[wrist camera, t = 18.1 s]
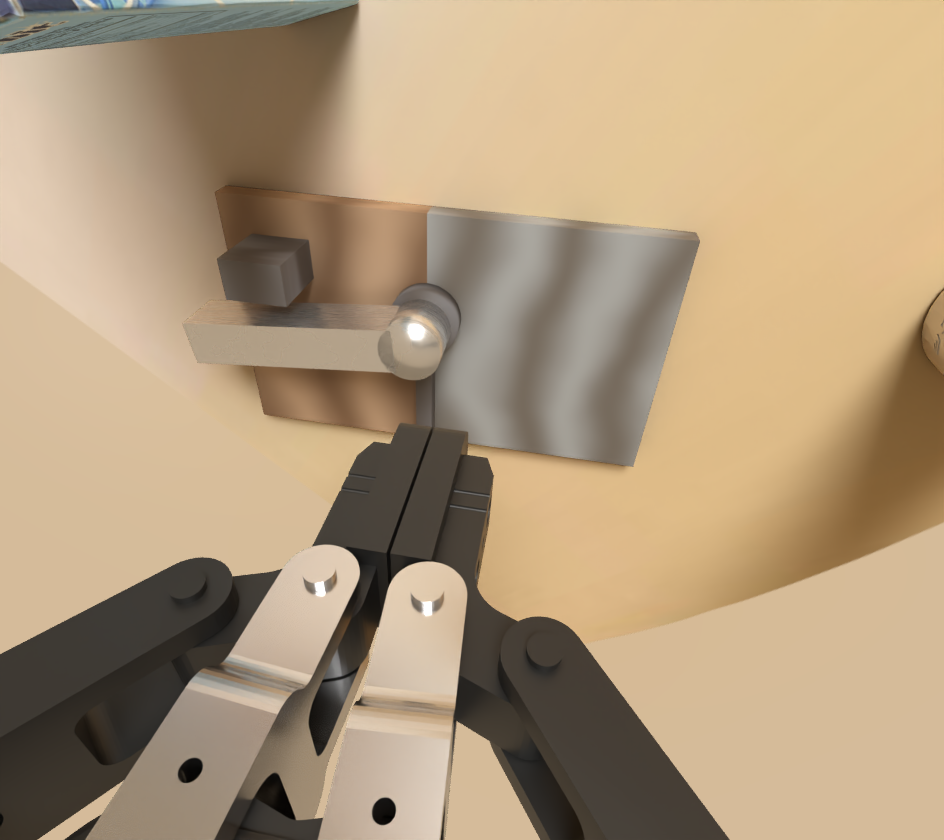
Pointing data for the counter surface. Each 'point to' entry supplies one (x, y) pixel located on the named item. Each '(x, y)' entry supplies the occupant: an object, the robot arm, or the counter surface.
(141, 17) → the gum box
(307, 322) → the swing bar
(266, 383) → the lock plate
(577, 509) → the counter surface
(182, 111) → the counter surface
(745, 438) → the counter surface
